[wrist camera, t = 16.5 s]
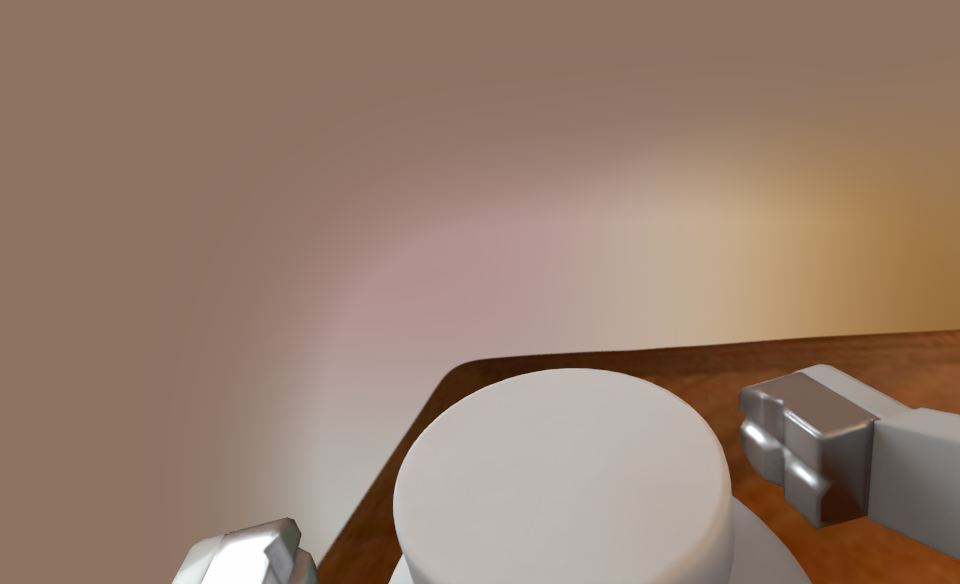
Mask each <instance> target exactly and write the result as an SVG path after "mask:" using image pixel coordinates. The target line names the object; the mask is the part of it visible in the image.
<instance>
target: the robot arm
mask: <svg viewBox="0 0 960 584" xmlns="http://www.w3.org/2000/svg"><path fill="white" fill-rule="evenodd" d="M739 409H740V410H741V411H742V412H743V413H744V414H746V415H747V417H746V419H745V421H744V422H743V424H742V426H741V428H740V437H741V445H742V448H743V450H744V452H745V455H746V457H747V460H748V461H749V462H750V464H751V465H752V467H753V468H754V469H755V471H756V472H757V473H758V474H759V475H760V476H761V477H762V478H763V479H764V480H765V481H768V482H771V483H773V484H776V485H779V486H781V487H784V496H785V500H786V501H787V502H788V503H789V504H790V505H792V506H793V507H794V508H795V509H796V510H797V511H798V512H799V513H800V514H801V515H802V516H803V517H804V518H805V519H806V520H807V521H808V522H809V523H810V524H812V525H813V526H814V527H815V528H816V529H820V528H824V527H828V526H831V525H835V524H839V523H842V522H846V521H850V520H853V519H857V518H861V517H864V516H868V519H870V520H872V521H874V522H876V523H878V524H881V525H883V526H885V527H887V528H889V529H892V530H894V531H896V532H898V533H900V534H902V535H905V536H907V537H909V538H911V539H913V540H916V541H918V542H920V543H922V544H924V545H927V546H929V547H931V548H933V549H935V550H937V551H940V552H942V553H944V554H946V555H948V556H951V557H953V558H955V559H957V560H959V561H960V415H957V414H952V413H947V412H942V411H937V410H932V409H927V408H919V409H915V410H913V409H911V408H909V407H907V406H905V405H903V404H901V403H900V402H898V401H896V400H894V399H892V398H890V397H888V396H886V395H885V394H883V393H881V392H879V391H877V390H875V389H873V388H871V387H870V386H868V385H866V384H864V383H862V382H860V381H858V380H856V379H855V378H853V377H851V376H849V375H847V374H845V373H843V372H841V371H840V370H838V369H836V368H834V367H832V366H829V365H823V364H819V365H815V366H812V367H809V368H806V369H803V370H799V371H796V372H794V373H793V374H789V375H786V376H782V377H779V378H775V379H772V380H769V381H765V382H762V383H758V384H755V385H751V386H748V387H744V388H742V389H741V391H740V394H739ZM300 538H301V532H300V530H299V528H298V526H297V525H296V522H295V520H294V519H290V518H283V519H279V520H276V521H272V522H268V523H265V524H260V525H257V526H253V527H249V528H245V529H241V530H238V531H233V532H230V533H229V534H224V535H220V536H216V537H212V538H209V539H205V540H201V541H200V542H198V543H197V544H195V545H194V546H193V547H192V548H191V550H190V551H189V553H188V555H187V557H186V559H185V561H184V562H183V564H182V566H181V568H180V570H179V572H178V574H177V575H176V577H175V579H174V581H173V583H172V584H319V578H318V574H317V569H316V565H315V563H314V561H313V558H312V556H311V554H310V553H308V552H307V551H305V550H303V549H301V548H299V547H298V546H299V542H300Z"/></svg>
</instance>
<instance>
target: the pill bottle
mask: <svg viewBox="0 0 960 584" xmlns="http://www.w3.org/2000/svg"><path fill="white" fill-rule="evenodd" d="M393 515H394V522H395V528H396V532H397V536H398V540H399V543H400V546H401V549H402V552H403V555H402V557H401V559H400V561H399V562H398V564H397V566H396V569H395V571H394V573H393V575H392V577H391V580H390V582H389V584H812V583H811V581H810V579H809V578H808V576H807V575H806V573H805V572H804V570H803V569H802V567H801V566H800V564H799V563H798V561H797V560H796V559H795V557H794V556H793V555H792V553H791V552H790V551H789V549H788V548H787V547H786V546H785V545H784V544H783V542H782V541H781V540H780V539H779V538H778V537H777V536H776V535H775V534H774V532H773V531H772V530H771V529H770V528H769V527H768V526H767V525H766V524H765V523H764V522H763V521H762V520H761V519H760V518H759V517H758V516H757V515H755V514H754V513H753V512H752V511H751V510H750V509H748V508H747V507H746V506H745V505H744V504H742V503H741V502H740V501H739V500H737V499H736V498H735V497H734V496H732V492H731V480H730V475H729V470H728V465H727V462H726V458H725V455H724V452H723V449H722V446H721V444H720V442H719V441H718V439H717V437H716V435H715V434H714V432H713V431H712V429H711V428H710V426H709V425H708V424H707V422H706V421H705V420H704V419H703V418H702V417H701V416H700V415H699V414H698V413H697V412H696V411H695V410H694V409H693V408H692V407H691V406H690V405H689V404H687V403H686V402H685V401H683V400H682V399H680V398H679V397H677V396H676V395H674V394H673V393H671V392H669V391H667V390H666V389H664V388H661V387H659V386H657V385H655V384H653V383H650V382H648V381H645V380H642V379H639V378H636V377H633V376H629V375H625V374H622V373H617V372H611V371H605V370H596V369H552V370H545V371H539V372H533V373H528V374H523V375H519V376H516V377H512V378H509V379H506V380H503V381H500V382H498V383H495V384H493V385H490V386H488V387H485V388H483V389H480V390H479V391H477V392H475V393H473V394H471V395H469V396H467V397H465V398H464V399H462V400H460V401H459V402H457V403H456V404H454V405H453V406H451V407H450V408H449V409H447V410H446V411H445V412H443V413H442V414H441V415H440V416H438V417H437V418H436V419H435V420H434V421H433V422H432V423H431V424H430V425H429V426H428V427H427V428H426V429H425V430H424V431H423V433H422V434H421V435H420V436H419V437H418V439H417V440H416V441H415V442H414V444H413V445H412V447H411V448H410V450H409V452H408V454H407V456H406V457H405V459H404V461H403V463H402V465H401V468H400V471H399V474H398V477H397V481H396V485H395V490H394V498H393Z"/></svg>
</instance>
